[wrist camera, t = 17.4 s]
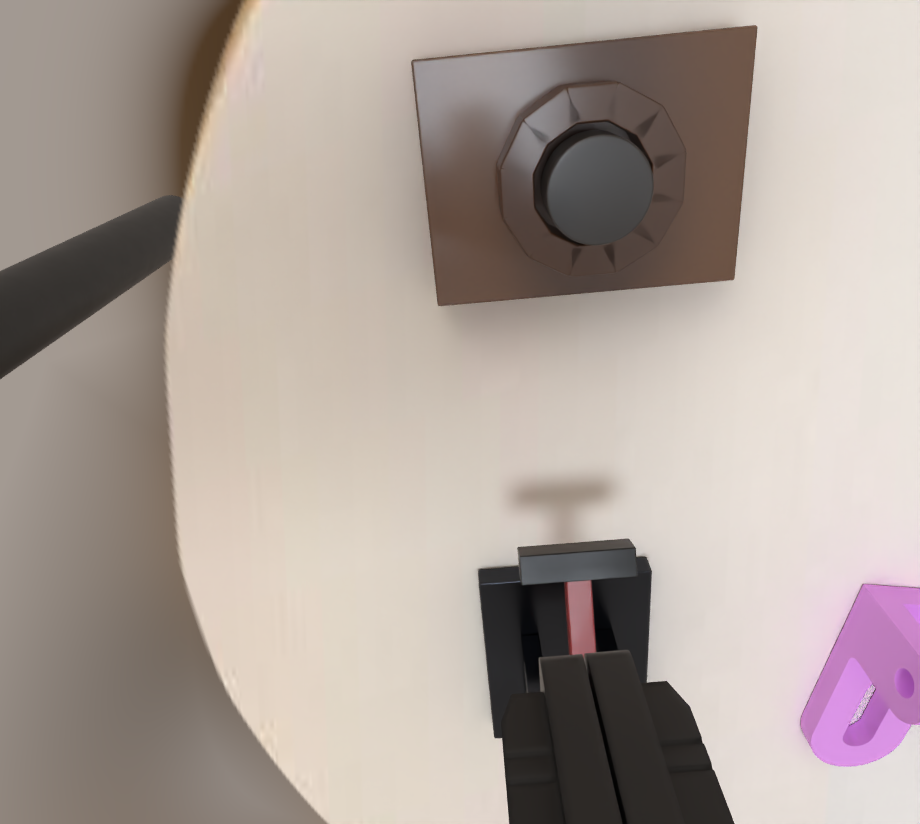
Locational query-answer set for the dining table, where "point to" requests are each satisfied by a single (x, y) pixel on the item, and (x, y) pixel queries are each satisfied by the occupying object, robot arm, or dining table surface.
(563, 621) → the pivot stand
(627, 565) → the lever handle
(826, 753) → the bracket
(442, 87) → the button block
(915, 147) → the dining table surface
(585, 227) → the desk button
